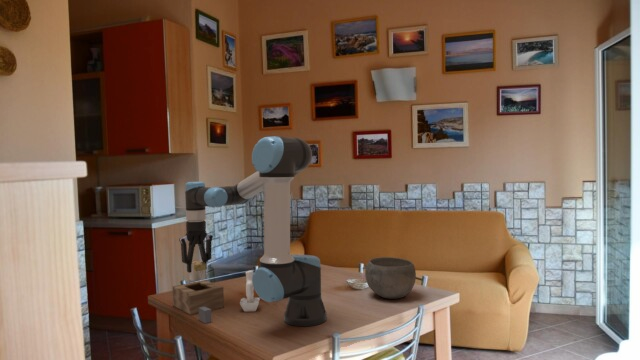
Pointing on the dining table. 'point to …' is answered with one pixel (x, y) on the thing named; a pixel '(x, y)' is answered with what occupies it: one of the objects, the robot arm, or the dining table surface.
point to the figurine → (249, 294)
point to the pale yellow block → (199, 265)
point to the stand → (205, 314)
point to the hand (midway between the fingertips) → (197, 279)
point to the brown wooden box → (198, 296)
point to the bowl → (390, 276)
